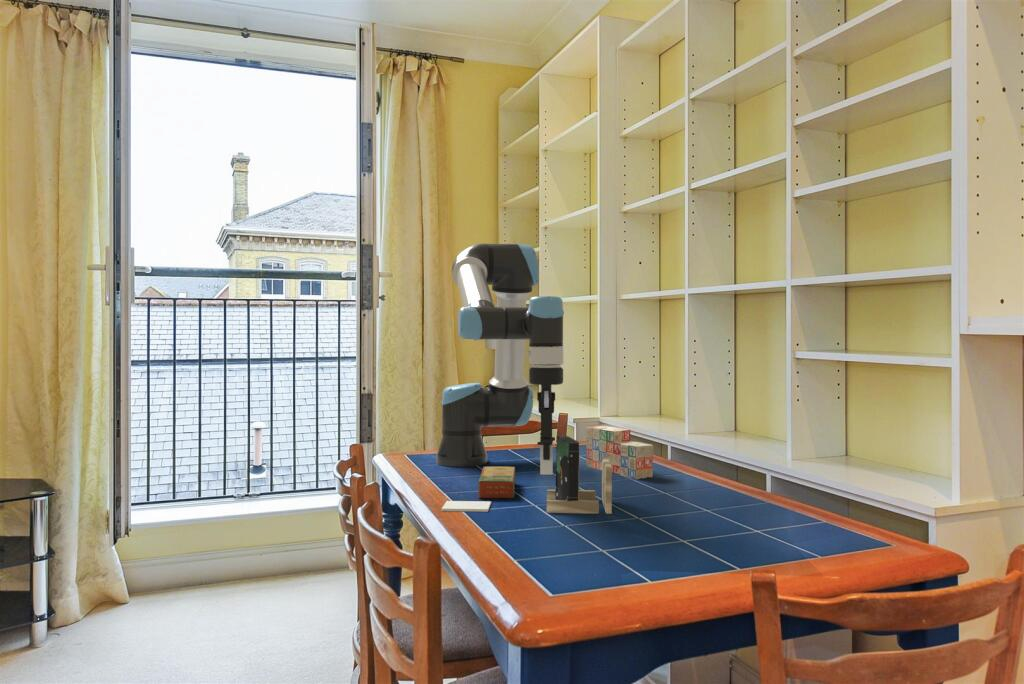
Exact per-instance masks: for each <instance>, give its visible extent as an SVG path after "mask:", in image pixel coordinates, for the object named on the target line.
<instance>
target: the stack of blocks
mask: <svg viewBox="0 0 1024 684" xmlns="http://www.w3.org/2000/svg"><path fill="white" fill-rule="evenodd" d="M585 445H586V446H585V448H586V460H585V461H586V462H585V463H586V464H585V465H586V467H589V468H592V469H595V470H600V471H602V457H607V458H608V460H609V462H610V464H611V466H612V474H614V473H615V475H618V474H620V475H619V476H621V475H622V477H625V478H629V477H630V478H629V479H633V478H634V480H640V479H641V478H642V479H648V478H647V477H649V478H653V476H654V475H653V474H654V473H653V472H654V469H653V468H654V457H653V456H654V445H653V444H650V443H645V442H639V441H633V440H631V429H626V428H623V427H622V428H621V427H614V426H607V425H594V426H587V427H585Z"/></svg>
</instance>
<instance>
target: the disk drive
mask: <svg viewBox="0 0 1024 684" xmlns="http://www.w3.org/2000/svg"><path fill="white" fill-rule="evenodd" d="M555 446H556V449H555V450H556V451H555V453H556V454H555V455H556V458H555V490H556V495H555V496H556V500H567V501H578V500H579V490H580V466H581V465H580V464H581V463H580V461H581V459H580V458H581V451H580V442H579V441H578V440H576V439H574V438H572V437H570V436H568V435H566V434H565V435H556V444H555Z"/></svg>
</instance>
